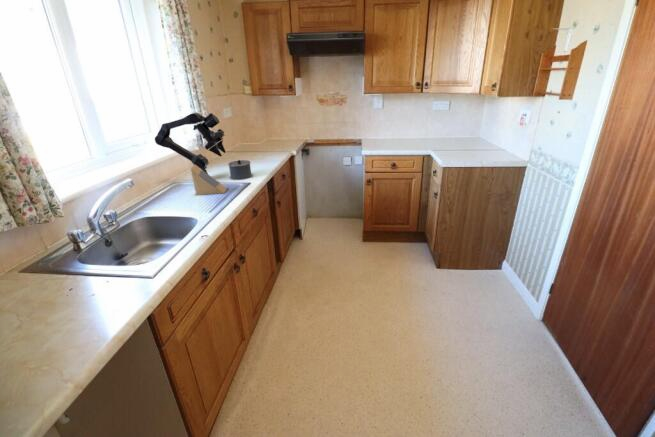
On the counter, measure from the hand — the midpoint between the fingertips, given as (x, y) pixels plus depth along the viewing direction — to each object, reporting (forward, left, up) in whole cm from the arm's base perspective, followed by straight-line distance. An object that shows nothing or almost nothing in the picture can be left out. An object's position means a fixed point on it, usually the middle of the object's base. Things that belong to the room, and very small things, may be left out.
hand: (223, 154), depth 197 cm
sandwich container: (+5, -24, -16) cm, 29 cm away
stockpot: (+7, +5, -15) cm, 18 cm away
